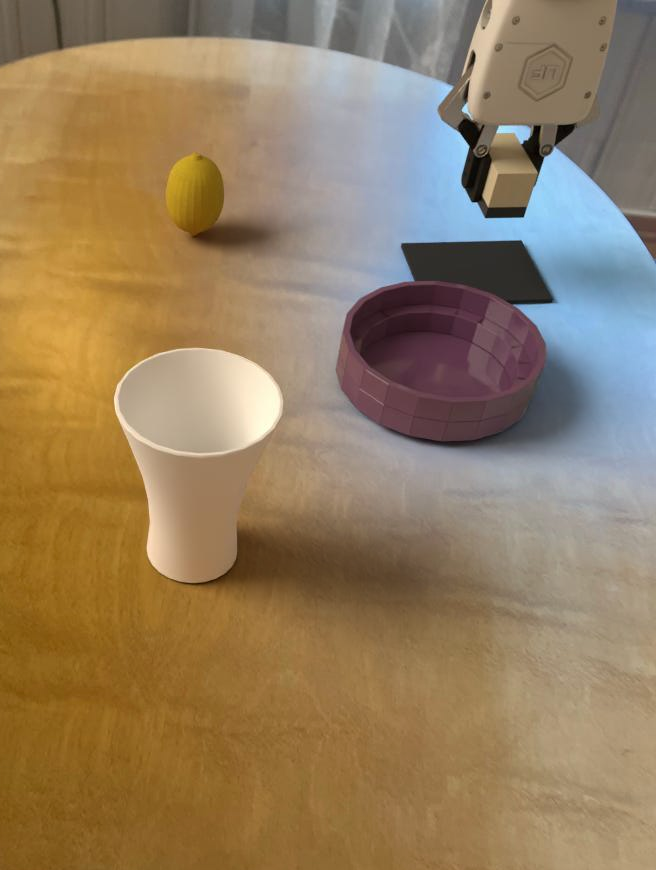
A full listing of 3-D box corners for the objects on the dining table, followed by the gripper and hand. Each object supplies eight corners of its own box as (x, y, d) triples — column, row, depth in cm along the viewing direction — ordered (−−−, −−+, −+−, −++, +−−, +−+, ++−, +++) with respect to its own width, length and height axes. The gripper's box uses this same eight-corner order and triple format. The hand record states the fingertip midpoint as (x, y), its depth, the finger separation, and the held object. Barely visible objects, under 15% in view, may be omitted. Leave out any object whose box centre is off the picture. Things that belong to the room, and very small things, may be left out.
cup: (191, 479, 77) (198, 326, 66) (294, 552, 72) (319, 401, 62) (88, 548, 72) (78, 396, 62) (192, 630, 68) (200, 482, 57)
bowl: (498, 323, 90) (512, 278, 87) (554, 443, 80) (573, 397, 77) (320, 328, 89) (327, 283, 86) (355, 450, 79) (365, 405, 76)
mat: (520, 243, 99) (521, 239, 98) (552, 302, 93) (553, 299, 92) (400, 246, 98) (401, 242, 98) (424, 306, 92) (425, 302, 91)
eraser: (501, 177, 92) (514, 132, 88) (524, 218, 87) (538, 173, 84) (464, 177, 91) (475, 133, 88) (484, 218, 87) (497, 173, 84)
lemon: (233, 235, 98) (238, 153, 92) (195, 257, 96) (198, 174, 90) (191, 214, 101) (194, 133, 94) (153, 234, 98) (153, 153, 92)
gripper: (468, -25, 72) (412, 218, 86) (690, -25, 73) (599, 215, 87) (442, -63, 76) (393, 174, 91) (652, -62, 78) (571, 172, 92)
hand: (495, 192), depth 89 cm, fingers closed on eraser, 3 cm apart
